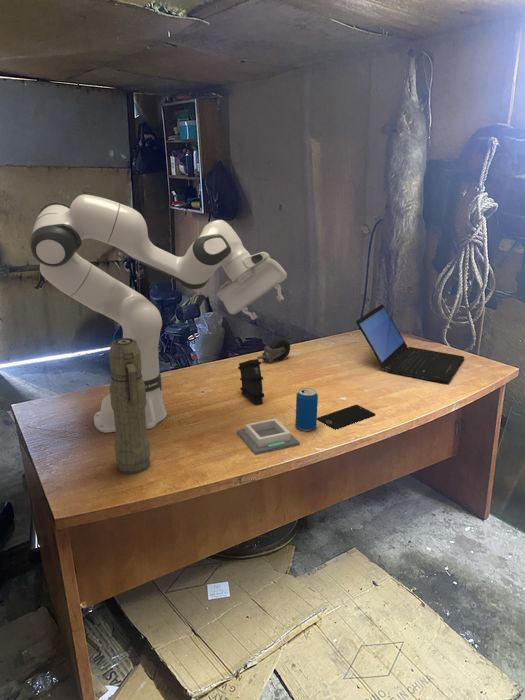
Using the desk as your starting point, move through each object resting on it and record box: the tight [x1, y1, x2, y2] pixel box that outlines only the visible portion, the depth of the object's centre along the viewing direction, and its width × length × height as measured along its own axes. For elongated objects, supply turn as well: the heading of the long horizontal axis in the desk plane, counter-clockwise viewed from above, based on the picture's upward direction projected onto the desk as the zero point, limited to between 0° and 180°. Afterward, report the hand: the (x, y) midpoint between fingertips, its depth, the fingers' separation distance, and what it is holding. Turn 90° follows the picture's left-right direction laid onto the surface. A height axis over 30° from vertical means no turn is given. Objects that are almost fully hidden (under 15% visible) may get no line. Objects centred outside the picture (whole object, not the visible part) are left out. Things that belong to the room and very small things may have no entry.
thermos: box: [108, 337, 151, 475], centre depth 137 cm, size 9×12×35 cm
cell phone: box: [317, 404, 376, 431], centre depth 171 cm, size 9×18×1 cm, turn 126°
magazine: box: [237, 358, 265, 406], centre depth 183 cm, size 4×13×15 cm, turn 27°
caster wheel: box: [256, 337, 291, 364], centre depth 218 cm, size 6×10×15 cm
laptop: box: [355, 304, 465, 384], centre depth 216 cm, size 33×38×19 cm
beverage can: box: [295, 387, 319, 432], centre depth 163 cm, size 6×6×12 cm
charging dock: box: [236, 418, 301, 455], centre depth 157 cm, size 14×14×3 cm
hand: (268, 309), depth 155 cm, fingers open, 8 cm apart
